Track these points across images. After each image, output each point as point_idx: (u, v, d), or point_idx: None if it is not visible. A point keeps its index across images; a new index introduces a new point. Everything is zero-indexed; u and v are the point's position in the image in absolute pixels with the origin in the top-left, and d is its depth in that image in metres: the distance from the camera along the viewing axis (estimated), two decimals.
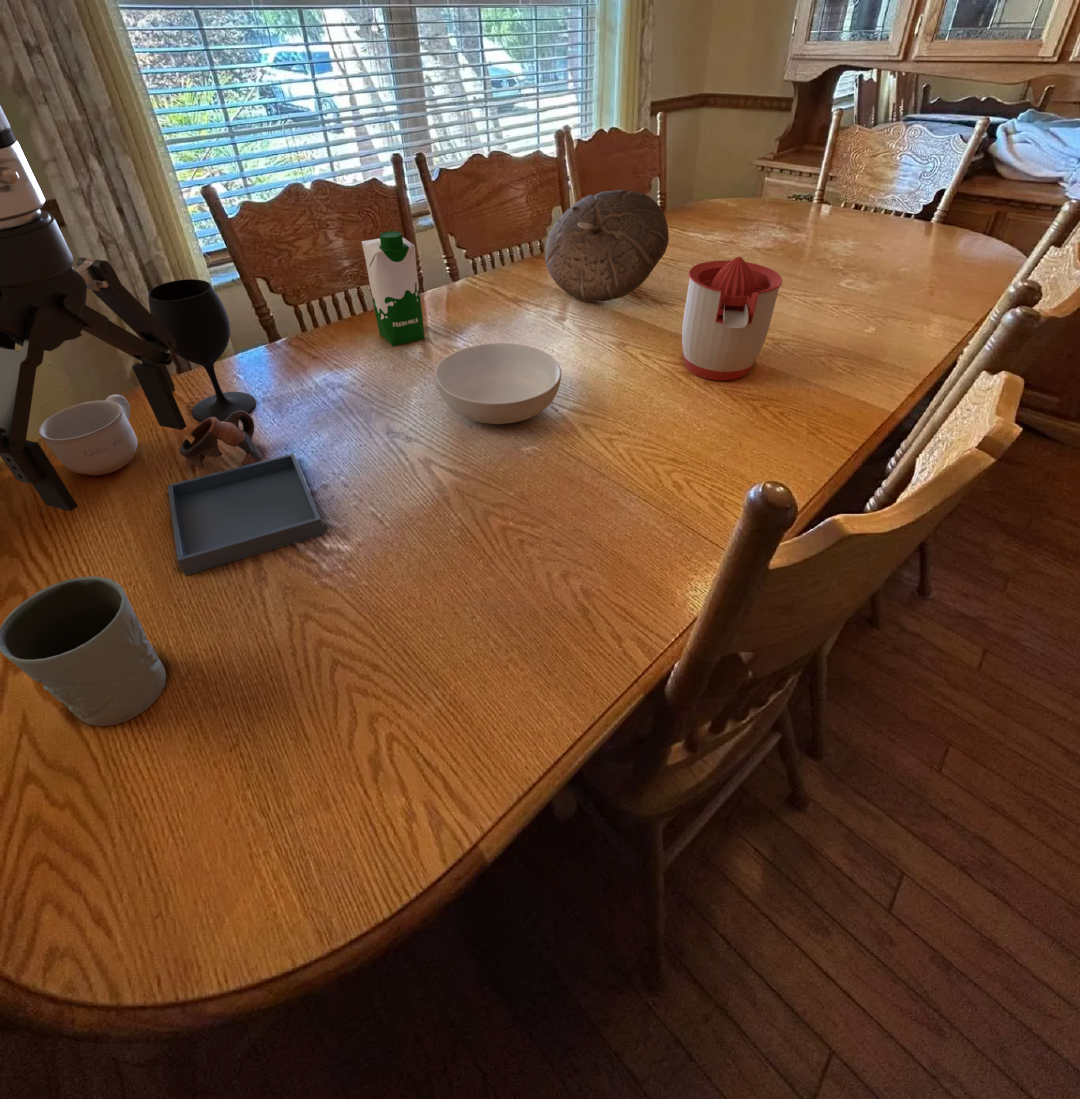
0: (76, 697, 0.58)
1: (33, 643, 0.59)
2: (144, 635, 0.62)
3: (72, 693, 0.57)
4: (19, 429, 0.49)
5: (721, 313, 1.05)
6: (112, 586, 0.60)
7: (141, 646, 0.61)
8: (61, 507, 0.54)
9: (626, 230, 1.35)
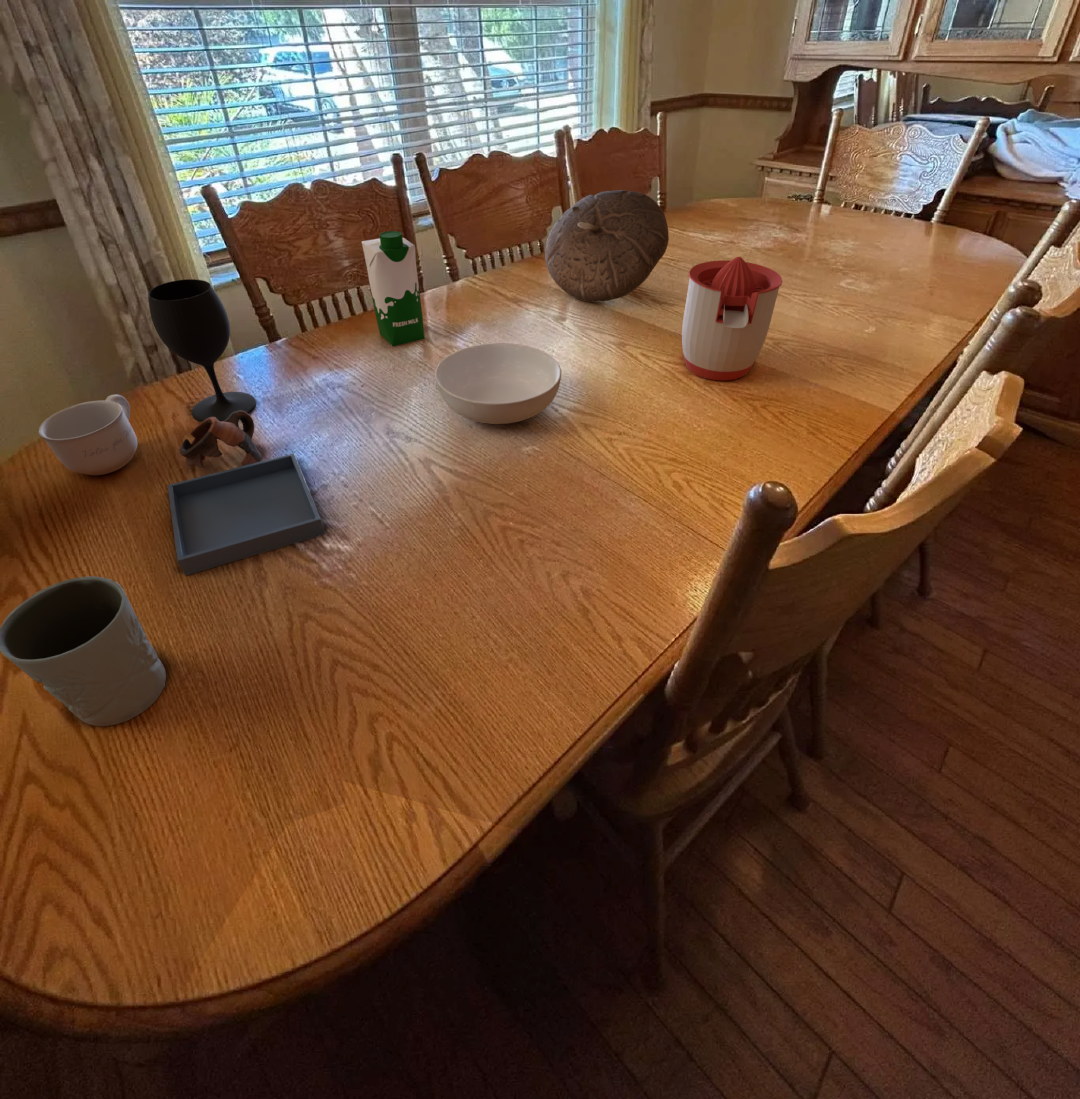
0: (76, 697, 0.58)
1: (33, 643, 0.59)
2: (144, 635, 0.62)
3: (72, 693, 0.57)
4: None
5: (721, 313, 1.05)
6: (112, 586, 0.60)
7: (141, 646, 0.61)
8: None
9: (626, 230, 1.35)
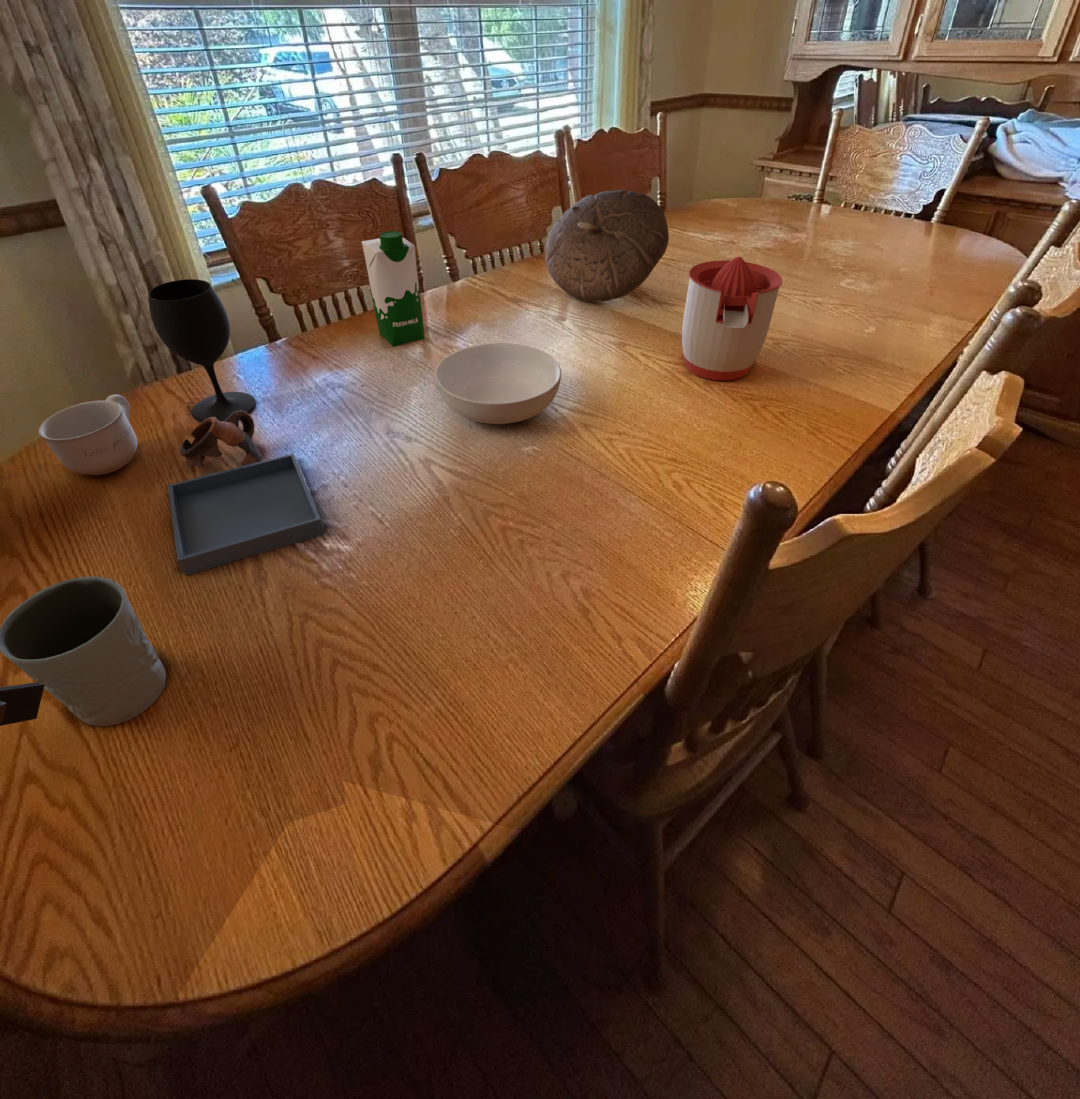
0: (76, 697, 0.58)
1: (33, 643, 0.59)
2: (144, 635, 0.62)
3: (72, 693, 0.57)
4: None
5: (721, 313, 1.05)
6: (112, 586, 0.60)
7: (141, 646, 0.61)
8: None
9: (626, 230, 1.35)
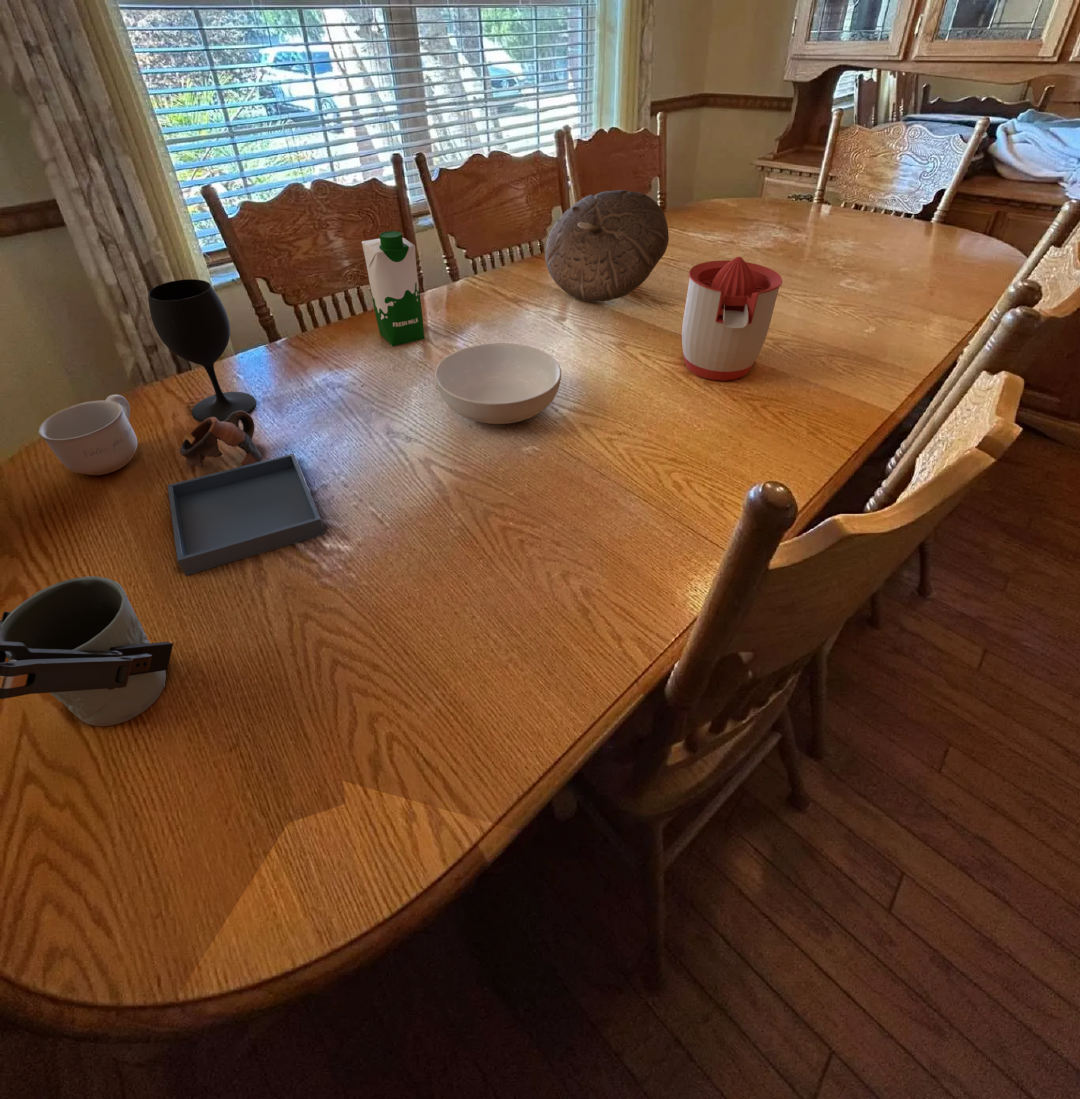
0: (76, 697, 0.58)
1: (33, 643, 0.59)
2: (144, 635, 0.62)
3: (72, 693, 0.57)
4: None
5: (721, 313, 1.05)
6: (112, 586, 0.60)
7: None
8: None
9: (626, 230, 1.35)
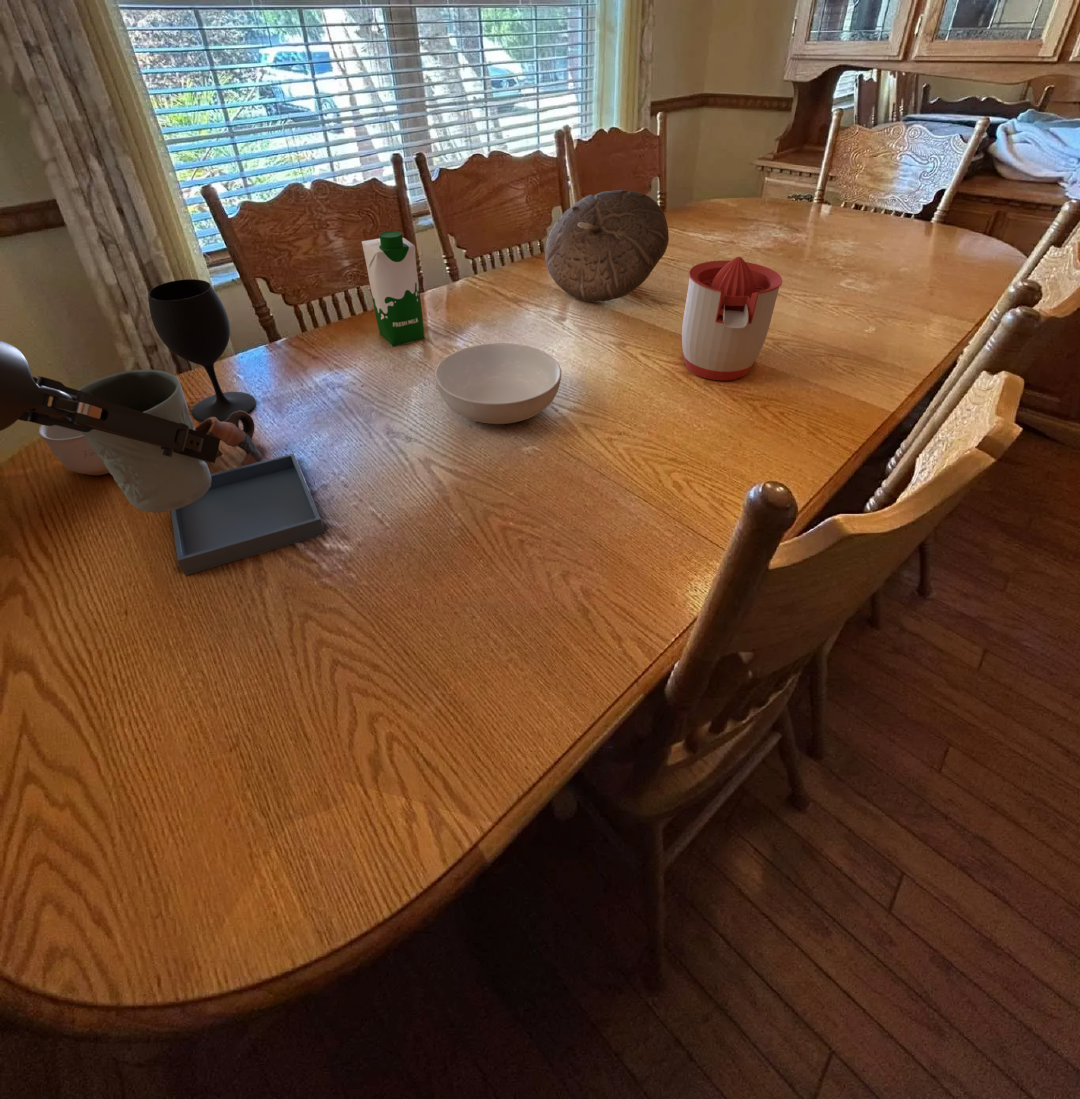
0: (134, 472, 0.63)
1: None
2: (194, 429, 0.67)
3: (131, 466, 0.63)
4: None
5: (721, 313, 1.05)
6: (167, 377, 0.65)
7: None
8: None
9: (626, 230, 1.35)
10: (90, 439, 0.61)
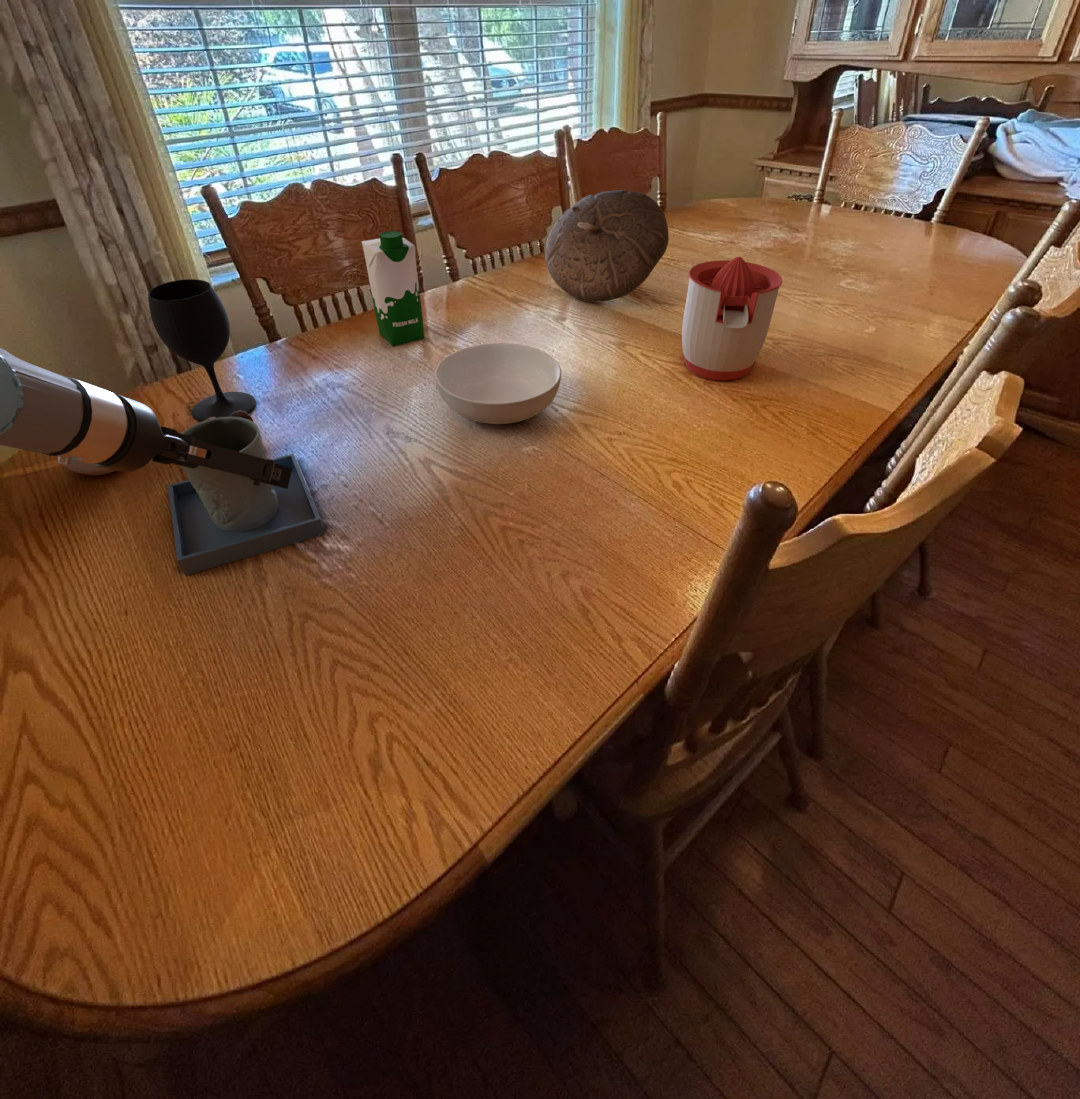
0: (223, 500, 0.79)
1: None
2: None
3: (222, 496, 0.78)
4: None
5: (721, 313, 1.05)
6: (247, 423, 0.81)
7: None
8: None
9: (626, 230, 1.35)
10: (191, 475, 0.76)
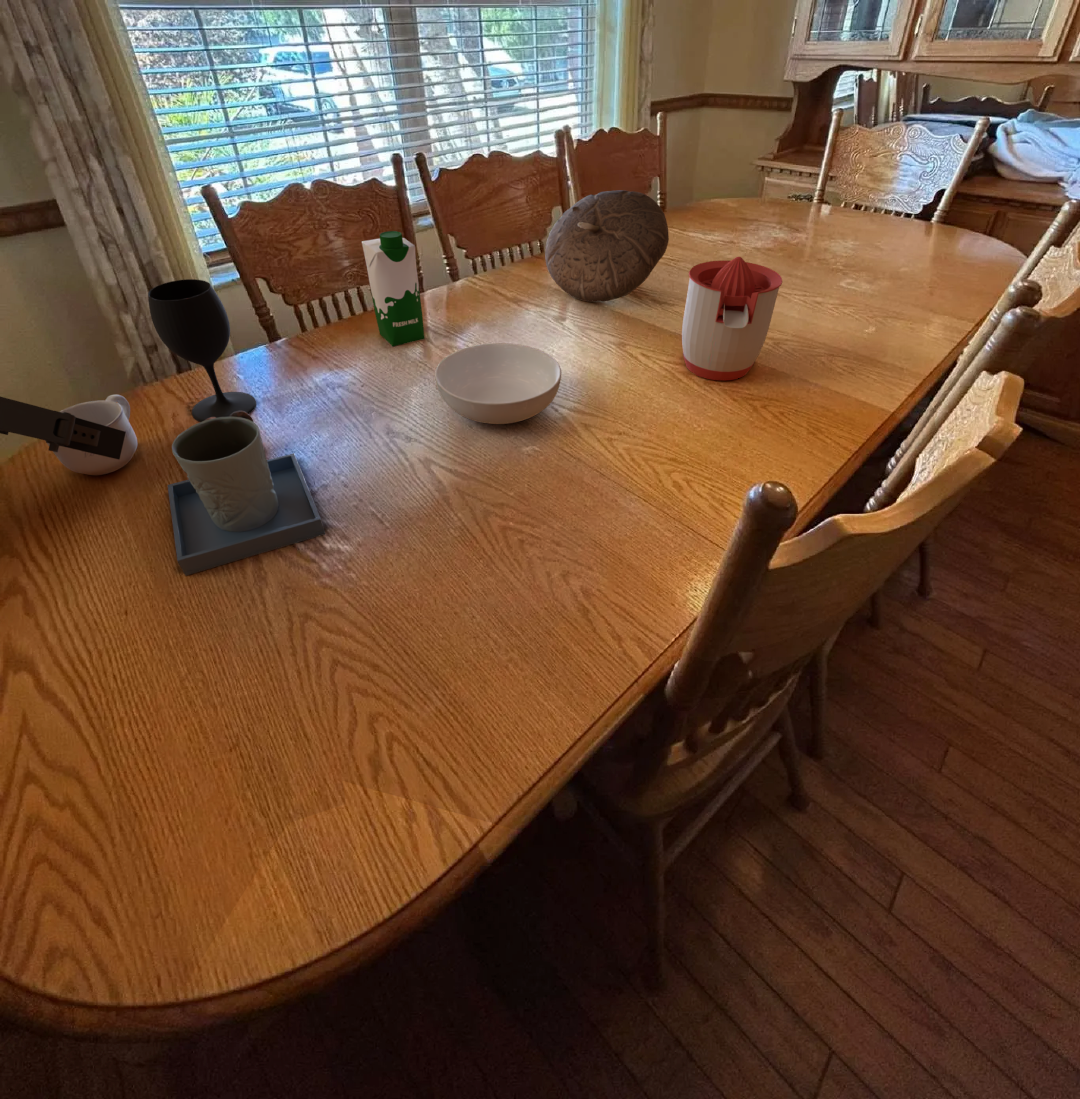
0: (223, 500, 0.79)
1: None
2: (267, 464, 0.83)
3: (222, 496, 0.78)
4: None
5: (721, 313, 1.05)
6: (246, 423, 0.81)
7: (266, 470, 0.82)
8: None
9: (626, 230, 1.35)
10: (191, 475, 0.76)
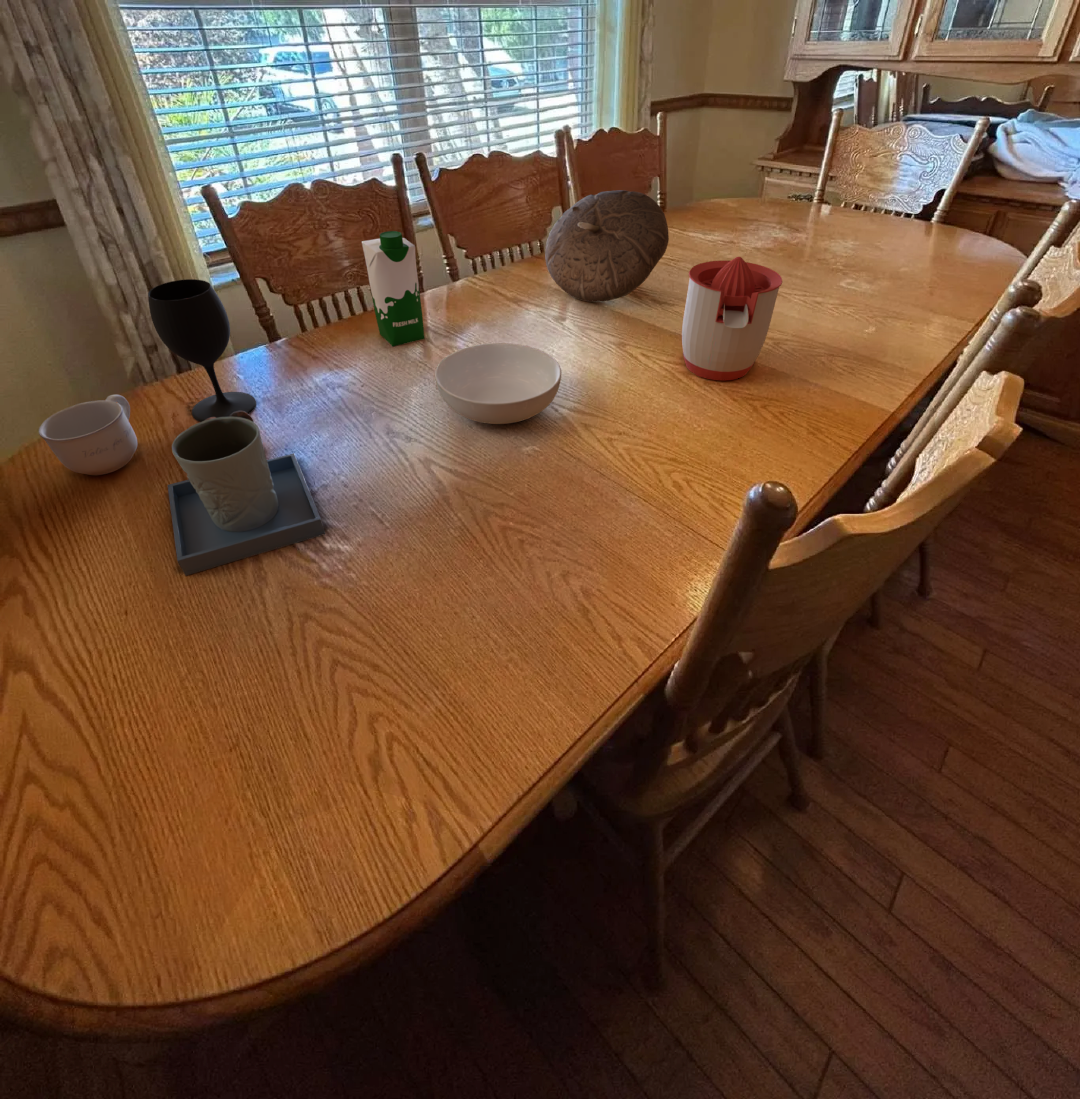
0: (223, 500, 0.79)
1: None
2: (267, 464, 0.83)
3: (222, 496, 0.78)
4: None
5: (721, 313, 1.05)
6: (246, 423, 0.81)
7: (266, 470, 0.82)
8: None
9: (626, 230, 1.35)
10: (191, 475, 0.76)
